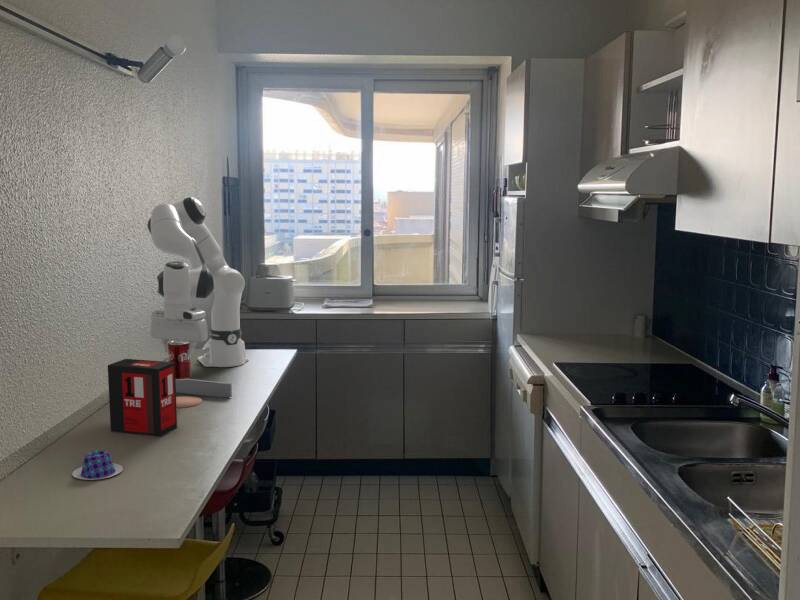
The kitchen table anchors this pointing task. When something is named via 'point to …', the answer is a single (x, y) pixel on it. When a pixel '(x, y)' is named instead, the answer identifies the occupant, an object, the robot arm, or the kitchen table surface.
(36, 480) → the kitchen table surface
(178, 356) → the soda can
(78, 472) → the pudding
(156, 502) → the kitchen table surface
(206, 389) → the acrylic wall
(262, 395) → the kitchen table surface
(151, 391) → the cleaning product box
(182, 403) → the terracotta mat
